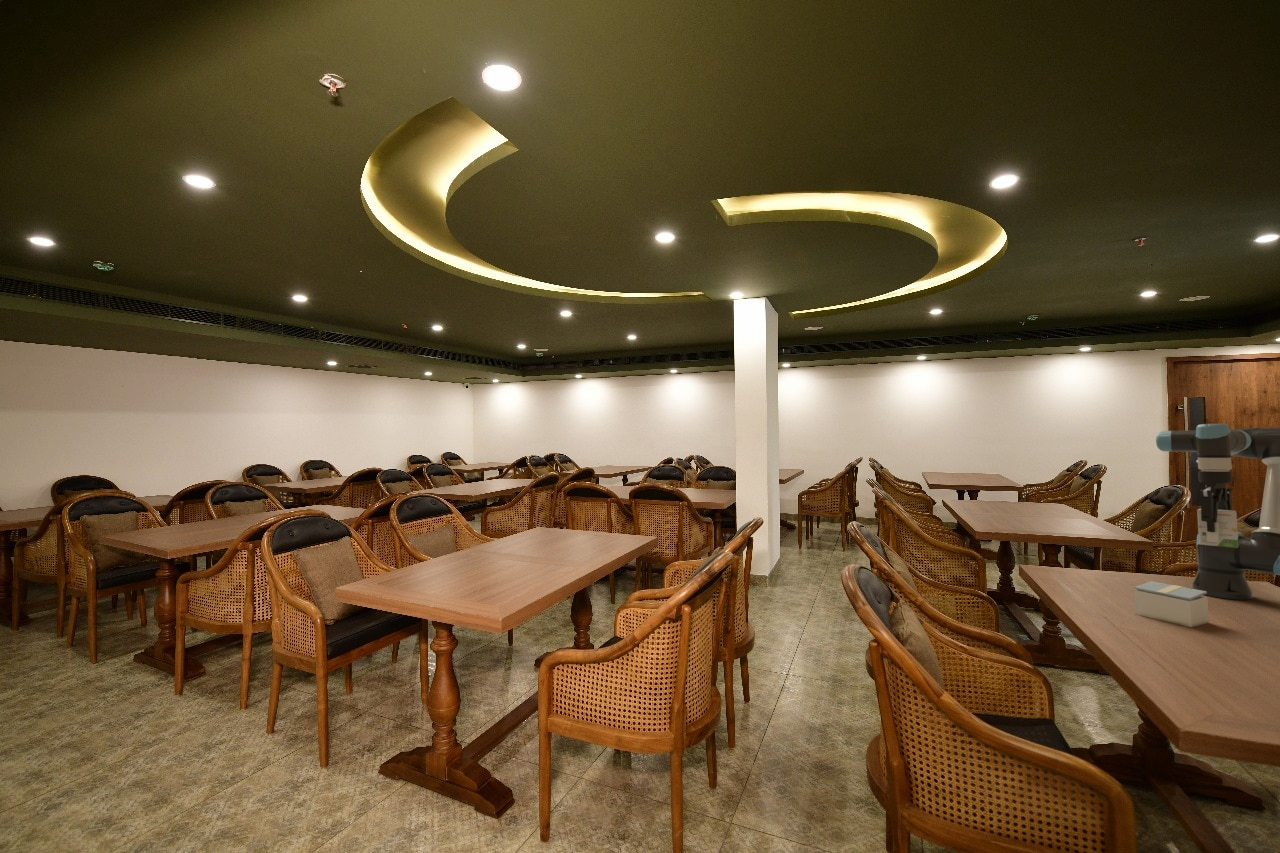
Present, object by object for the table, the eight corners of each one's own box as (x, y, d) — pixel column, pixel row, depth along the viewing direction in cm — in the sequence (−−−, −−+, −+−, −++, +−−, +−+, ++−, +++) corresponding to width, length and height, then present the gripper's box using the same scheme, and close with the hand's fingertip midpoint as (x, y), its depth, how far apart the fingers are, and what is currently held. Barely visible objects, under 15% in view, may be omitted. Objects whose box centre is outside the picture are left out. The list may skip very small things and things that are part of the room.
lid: (1151, 582, 180) (1150, 580, 180) (1207, 593, 167) (1206, 591, 167) (1134, 588, 176) (1133, 586, 176) (1189, 600, 163) (1189, 598, 163)
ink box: (1239, 546, 171) (1237, 509, 171) (1237, 548, 168) (1235, 511, 168) (1200, 542, 177) (1198, 507, 178) (1198, 544, 174) (1196, 509, 175)
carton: (1152, 610, 180) (1151, 586, 180) (1208, 622, 167) (1207, 597, 167) (1135, 614, 176) (1134, 589, 176) (1191, 627, 163) (1190, 601, 163)
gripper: (1214, 469, 180) (1218, 536, 179) (1183, 471, 173) (1187, 541, 173) (1245, 469, 173) (1249, 540, 172) (1215, 472, 166) (1219, 545, 166)
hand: (1218, 541), depth 173 cm, fingers closed on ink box, 6 cm apart
